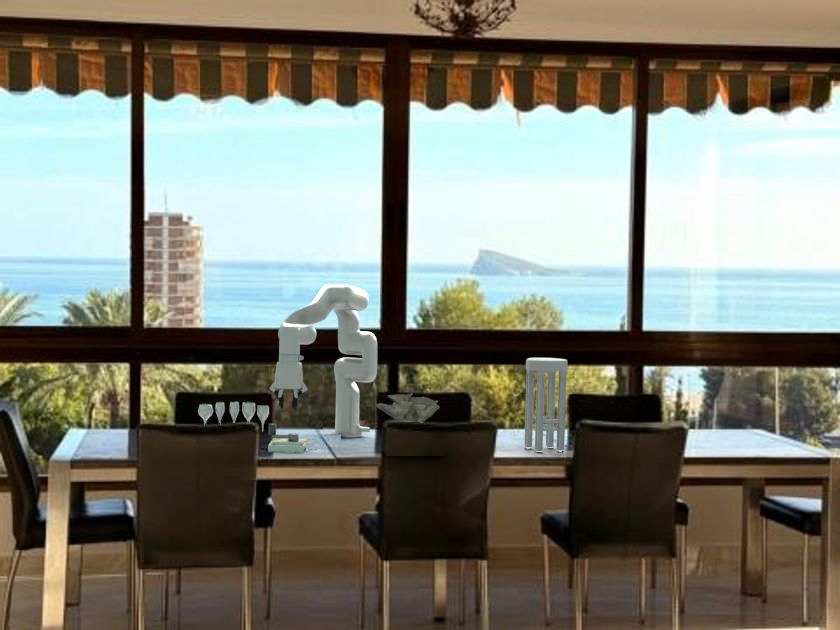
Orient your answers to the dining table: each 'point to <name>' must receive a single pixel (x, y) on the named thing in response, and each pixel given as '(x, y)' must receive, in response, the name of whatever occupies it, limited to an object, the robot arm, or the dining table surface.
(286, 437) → the crank
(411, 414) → the coral
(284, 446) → the tray
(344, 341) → the robot arm
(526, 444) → the stool
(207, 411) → the goblet set
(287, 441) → the plate
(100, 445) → the dining table surface
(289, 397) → the peg
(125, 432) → the dining table surface
